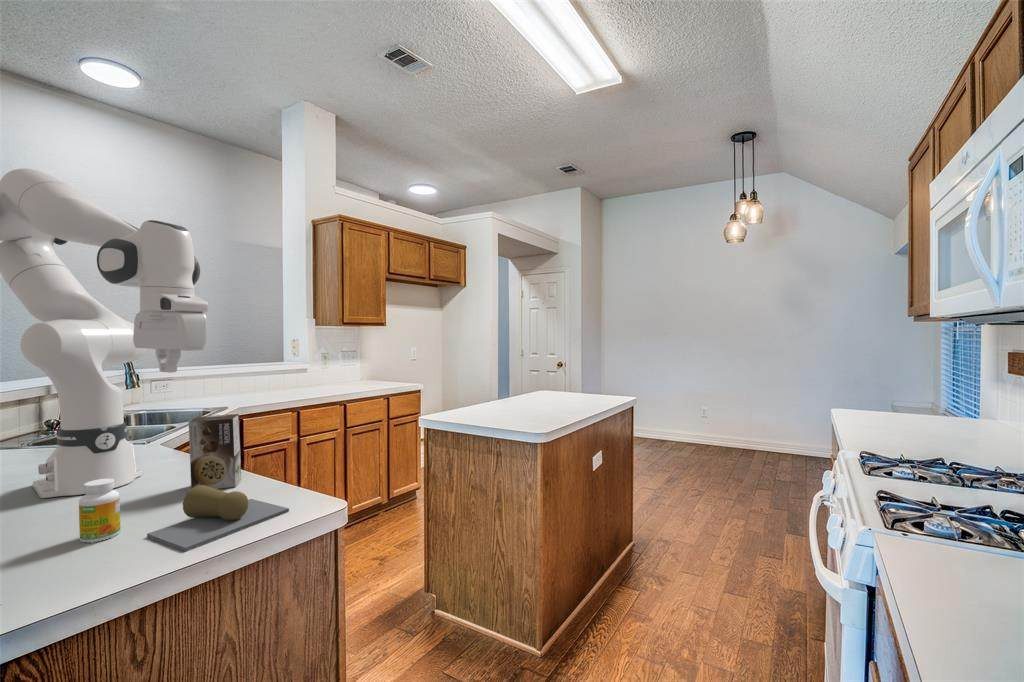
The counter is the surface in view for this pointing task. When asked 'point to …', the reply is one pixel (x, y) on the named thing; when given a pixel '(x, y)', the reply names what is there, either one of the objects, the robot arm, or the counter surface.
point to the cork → (215, 503)
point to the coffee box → (215, 451)
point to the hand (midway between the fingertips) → (168, 372)
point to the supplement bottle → (99, 511)
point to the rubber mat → (214, 526)
